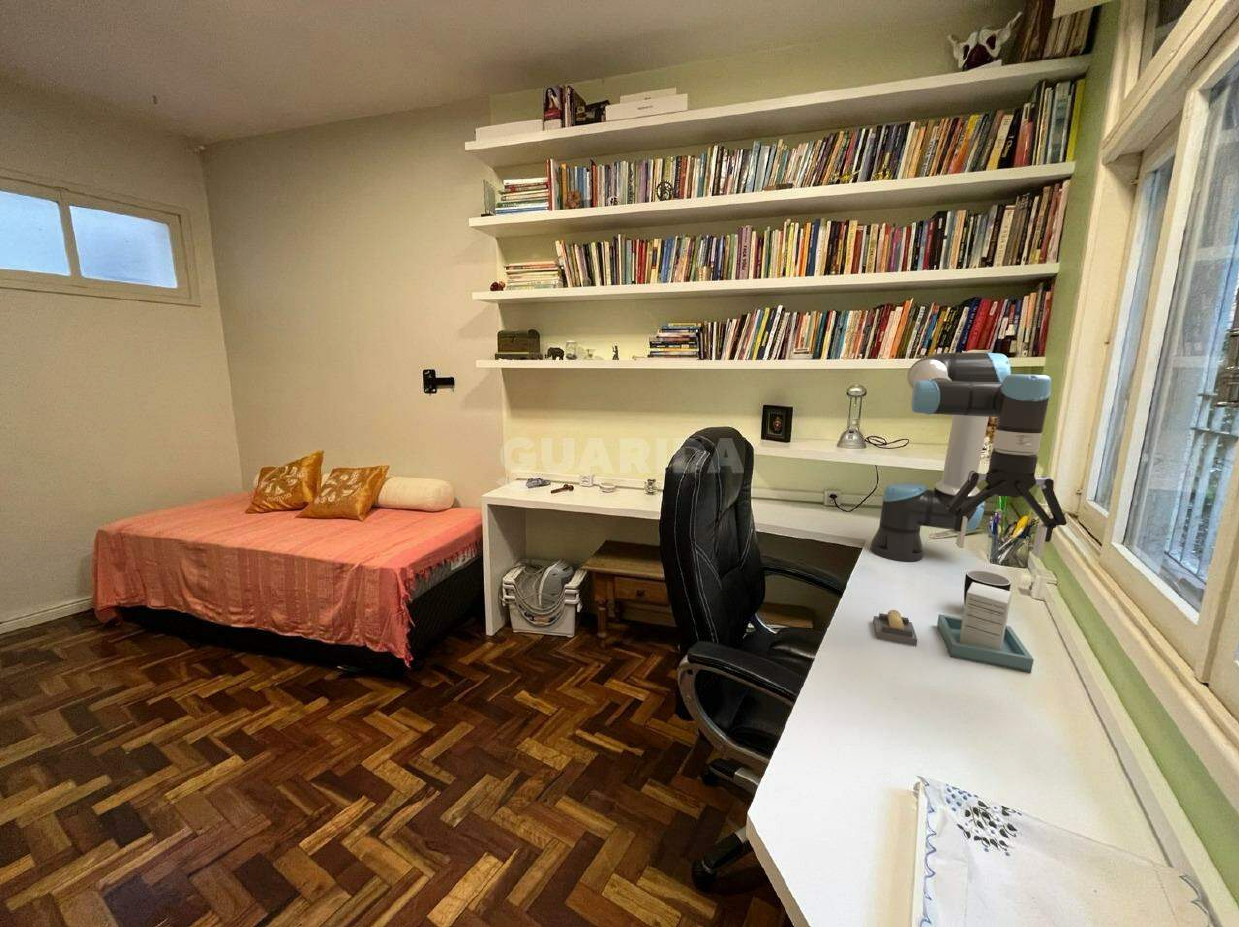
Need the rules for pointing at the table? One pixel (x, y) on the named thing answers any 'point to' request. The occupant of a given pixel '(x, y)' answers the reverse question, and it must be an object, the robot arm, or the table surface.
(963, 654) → the parts tray
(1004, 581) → the mug
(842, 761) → the table surface
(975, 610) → the supplement box
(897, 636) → the fuse block
